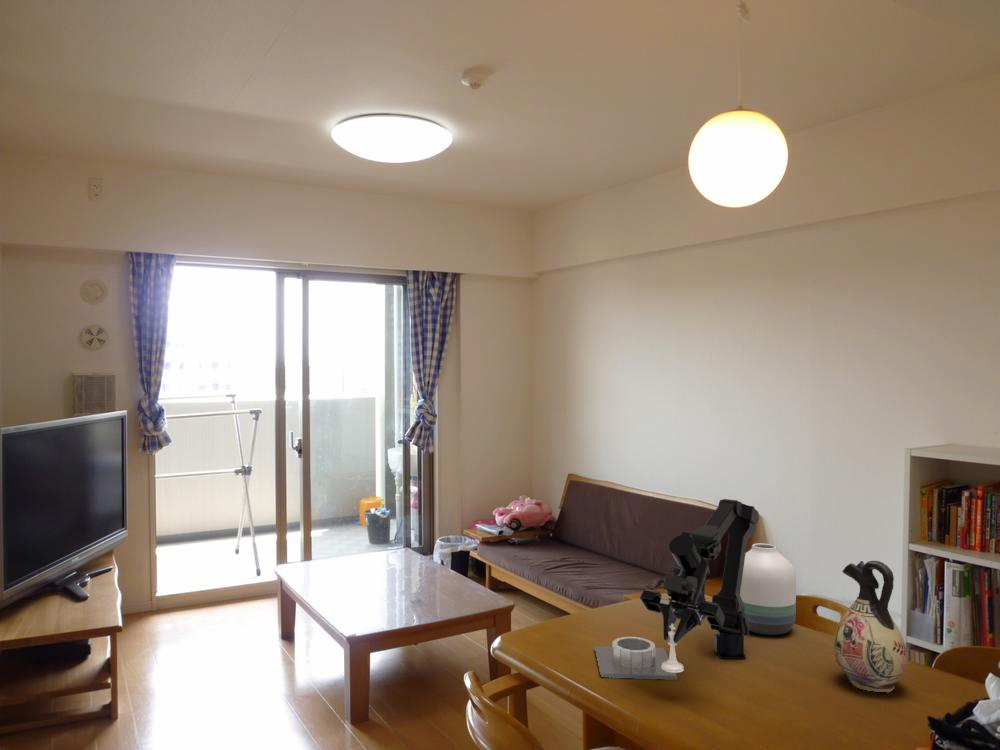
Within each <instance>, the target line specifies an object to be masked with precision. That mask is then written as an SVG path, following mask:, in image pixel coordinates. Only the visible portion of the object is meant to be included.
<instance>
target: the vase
mask: <svg viewBox="0 0 1000 750" xmlns="http://www.w3.org/2000/svg"><path fill="white" fill-rule="evenodd" d="M793 566H794V565H792V563H791V562H790V561H789V560H788V559H787V558H786V557H784V556H783V555H782V554H781V552H778V550H777V546H776V545H774V544H770V543H753V544H752V545H751V548H750V550H748V551H746V553H745V561H744V568H743V575H742V582H741V590H740V597H741V599H742V601H743V604H744V606H745V611H744V613H745V615H746V617H747V619H748V621H749V623H750V629H749V632H750V633H755V634H760V635H766V636H777V635H782V634H783V635H784V634H786V633H788V632H790V631H791V630H792V629H793V627H794V625H795V623H796V622H795V621H796V613H797V612H796V611H797V599H796V598H797V592H796V591H797V581H796V580H797V579H796V571H795V568H794V567H793Z"/></svg>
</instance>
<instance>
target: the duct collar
mask: <svg viewBox="0 0 1000 750" xmlns="http://www.w3.org/2000/svg"><path fill="white" fill-rule="evenodd" d="M611 644H612V646H609V645H604V646H602V645H595V646H594V653H595V652H596V653H595V656H596V657H597V658H596V662H597V661H598V662H597V667H598V666H599V667H598V671H599V675H601V676H600V678H601V677H609V678H608V679H619V678H634V679H633V680H657V679H662V680H661V681H664V680H663V679H665V681H678V675H677V673H671V672H667V671H664V670H663V669H662V668H661V666H662V663H663V662H665V661H667V660H668V659H669V655H668V654H667V652H666V650H665V648H664V647H657V646H656V645H655V642H653V641H651V640H649V639H647V638H643V637H639V636H622V637H617V638H615V639H614V640H613V641H612V643H611ZM611 677H612V678H611Z"/></svg>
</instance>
